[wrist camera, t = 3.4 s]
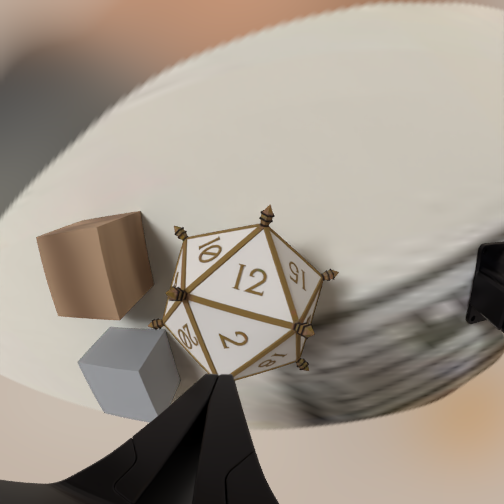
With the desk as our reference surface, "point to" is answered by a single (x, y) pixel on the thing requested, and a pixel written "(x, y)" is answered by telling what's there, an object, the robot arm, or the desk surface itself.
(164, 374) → the slate block
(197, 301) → the game die
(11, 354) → the desk surface
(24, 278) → the desk surface
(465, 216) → the desk surface
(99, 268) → the walnut block
